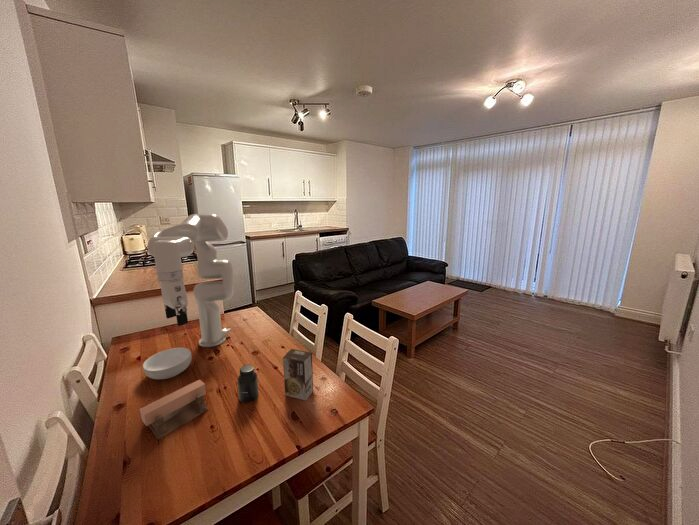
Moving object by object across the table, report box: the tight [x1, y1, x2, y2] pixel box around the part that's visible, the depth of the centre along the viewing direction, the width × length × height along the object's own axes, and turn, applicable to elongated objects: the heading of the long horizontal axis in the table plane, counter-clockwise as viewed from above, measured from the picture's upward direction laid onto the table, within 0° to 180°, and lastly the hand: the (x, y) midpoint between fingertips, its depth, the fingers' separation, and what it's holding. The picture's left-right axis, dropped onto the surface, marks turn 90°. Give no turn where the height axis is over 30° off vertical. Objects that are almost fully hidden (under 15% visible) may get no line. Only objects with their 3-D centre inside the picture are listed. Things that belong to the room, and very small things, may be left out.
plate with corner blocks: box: [144, 383, 209, 440], centre depth 91 cm, size 15×11×6 cm
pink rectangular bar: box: [139, 379, 207, 427], centre depth 91 cm, size 18×4×4 cm, turn 143°
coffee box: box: [282, 348, 314, 401], centre depth 101 cm, size 9×6×16 cm
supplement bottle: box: [237, 364, 259, 404], centre depth 100 cm, size 7×7×12 cm
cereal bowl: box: [142, 347, 192, 380], centre depth 114 cm, size 17×17×7 cm
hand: (177, 320), depth 99 cm, fingers open, 9 cm apart
